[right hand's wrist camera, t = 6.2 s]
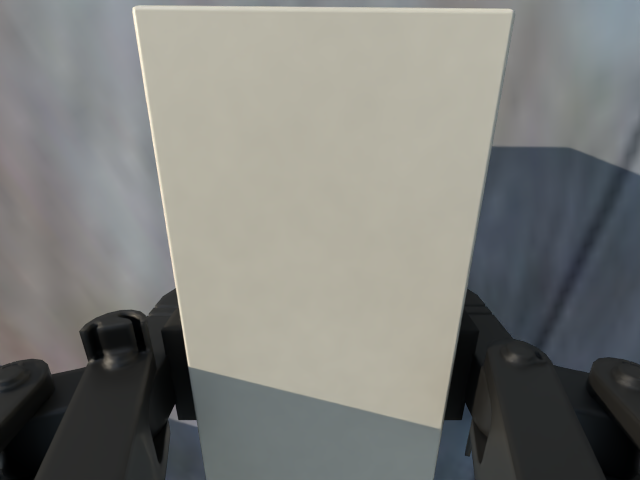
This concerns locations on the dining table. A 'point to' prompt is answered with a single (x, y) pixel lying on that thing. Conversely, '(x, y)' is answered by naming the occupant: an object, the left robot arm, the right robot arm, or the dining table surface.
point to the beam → (321, 223)
